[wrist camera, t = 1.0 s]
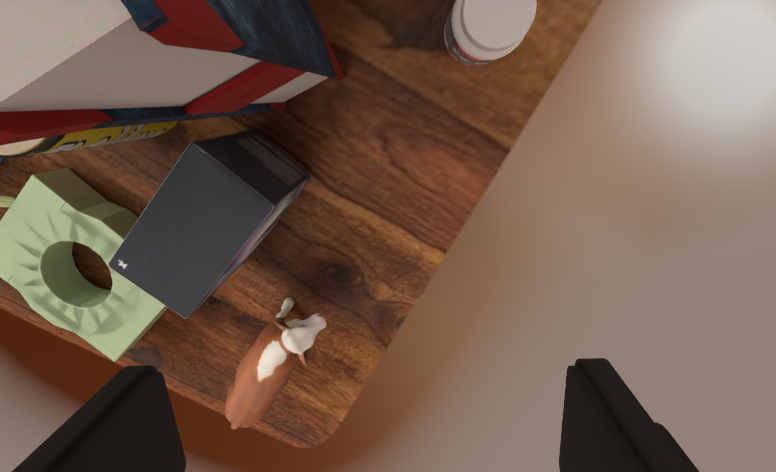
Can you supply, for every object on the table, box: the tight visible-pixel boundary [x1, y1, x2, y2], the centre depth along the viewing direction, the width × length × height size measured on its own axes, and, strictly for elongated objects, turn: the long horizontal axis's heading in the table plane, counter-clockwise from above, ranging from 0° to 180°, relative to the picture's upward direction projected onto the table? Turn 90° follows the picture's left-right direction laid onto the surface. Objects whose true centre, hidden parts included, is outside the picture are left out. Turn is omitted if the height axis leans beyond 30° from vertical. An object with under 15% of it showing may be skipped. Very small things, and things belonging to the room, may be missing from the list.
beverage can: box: [0, 121, 178, 158], centre depth 27 cm, size 9×9×12 cm
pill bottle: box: [444, 0, 537, 67], centre depth 27 cm, size 5×5×8 cm
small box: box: [108, 129, 310, 319], centre depth 31 cm, size 11×6×10 cm, turn 140°
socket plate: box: [0, 168, 168, 362], centre depth 36 cm, size 14×11×4 cm
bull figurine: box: [225, 297, 327, 429], centre depth 36 cm, size 4×13×8 cm, turn 144°
